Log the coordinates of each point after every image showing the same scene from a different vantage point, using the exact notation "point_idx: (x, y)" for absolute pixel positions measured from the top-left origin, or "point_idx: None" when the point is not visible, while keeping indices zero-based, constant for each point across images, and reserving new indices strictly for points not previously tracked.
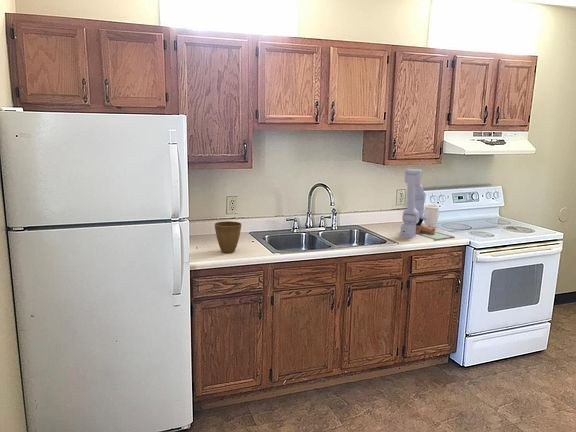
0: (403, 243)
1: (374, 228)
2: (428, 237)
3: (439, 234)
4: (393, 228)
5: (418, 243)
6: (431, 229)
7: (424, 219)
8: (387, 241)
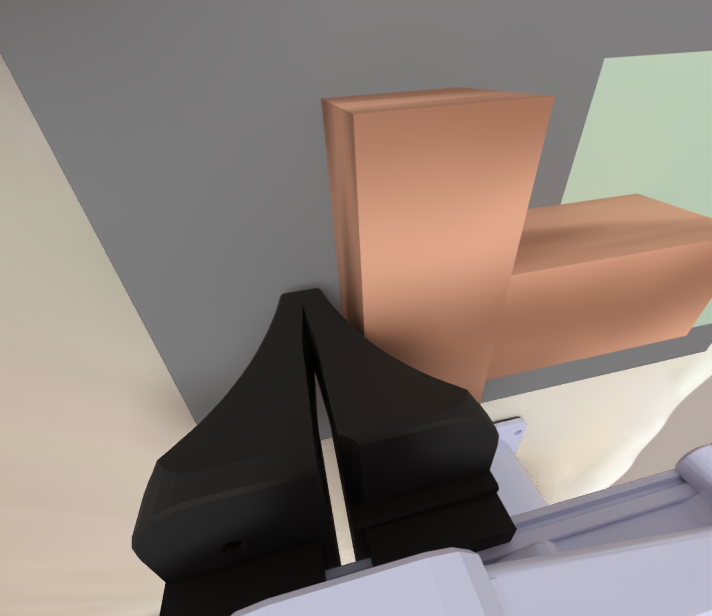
0: None
1: (40, 608)
2: (622, 363)
3: (707, 110)
4: (23, 493)
5: (609, 468)
6: (684, 321)
7: (641, 504)
8: None
